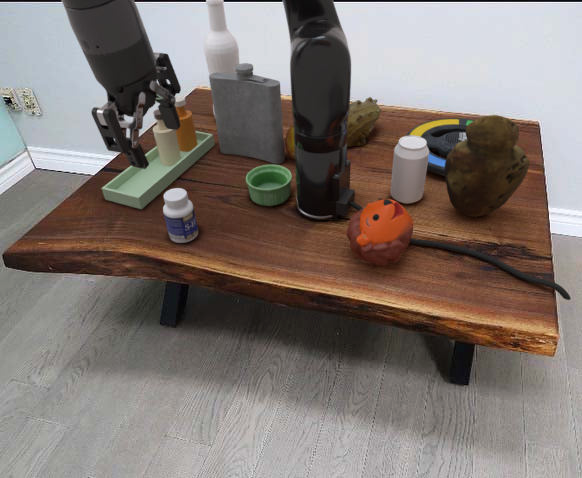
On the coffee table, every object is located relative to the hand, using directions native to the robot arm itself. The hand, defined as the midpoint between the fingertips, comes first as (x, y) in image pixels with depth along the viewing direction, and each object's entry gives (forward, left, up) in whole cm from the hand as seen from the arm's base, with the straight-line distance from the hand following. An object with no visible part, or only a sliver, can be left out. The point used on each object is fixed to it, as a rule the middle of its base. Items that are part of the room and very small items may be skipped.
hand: (158, 146), depth 70 cm
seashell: (-10, -54, -23) cm, 59 cm away
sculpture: (-41, -33, -23) cm, 57 cm away
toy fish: (-28, -16, -23) cm, 40 cm away
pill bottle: (+6, -8, -23) cm, 25 cm away
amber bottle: (+23, -34, -22) cm, 47 cm away
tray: (+23, -25, -23) cm, 41 cm away
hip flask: (+8, -38, -23) cm, 45 cm away
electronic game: (-34, -53, -23) cm, 67 cm away
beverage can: (-28, -34, -23) cm, 50 cm away
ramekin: (-3, -25, -23) cm, 34 cm away
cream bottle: (+23, -28, -22) cm, 42 cm away
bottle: (+22, -52, -23) cm, 61 cm away
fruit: (-4, -41, -23) cm, 47 cm away
